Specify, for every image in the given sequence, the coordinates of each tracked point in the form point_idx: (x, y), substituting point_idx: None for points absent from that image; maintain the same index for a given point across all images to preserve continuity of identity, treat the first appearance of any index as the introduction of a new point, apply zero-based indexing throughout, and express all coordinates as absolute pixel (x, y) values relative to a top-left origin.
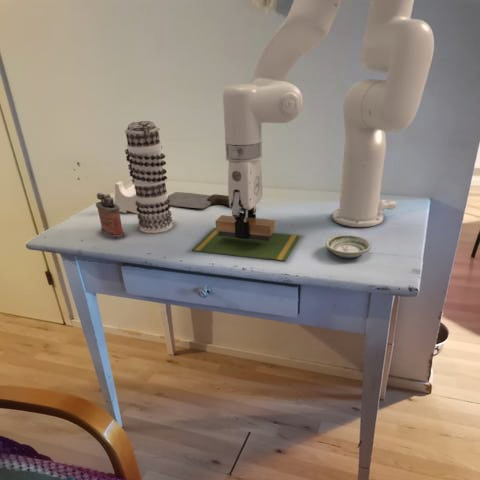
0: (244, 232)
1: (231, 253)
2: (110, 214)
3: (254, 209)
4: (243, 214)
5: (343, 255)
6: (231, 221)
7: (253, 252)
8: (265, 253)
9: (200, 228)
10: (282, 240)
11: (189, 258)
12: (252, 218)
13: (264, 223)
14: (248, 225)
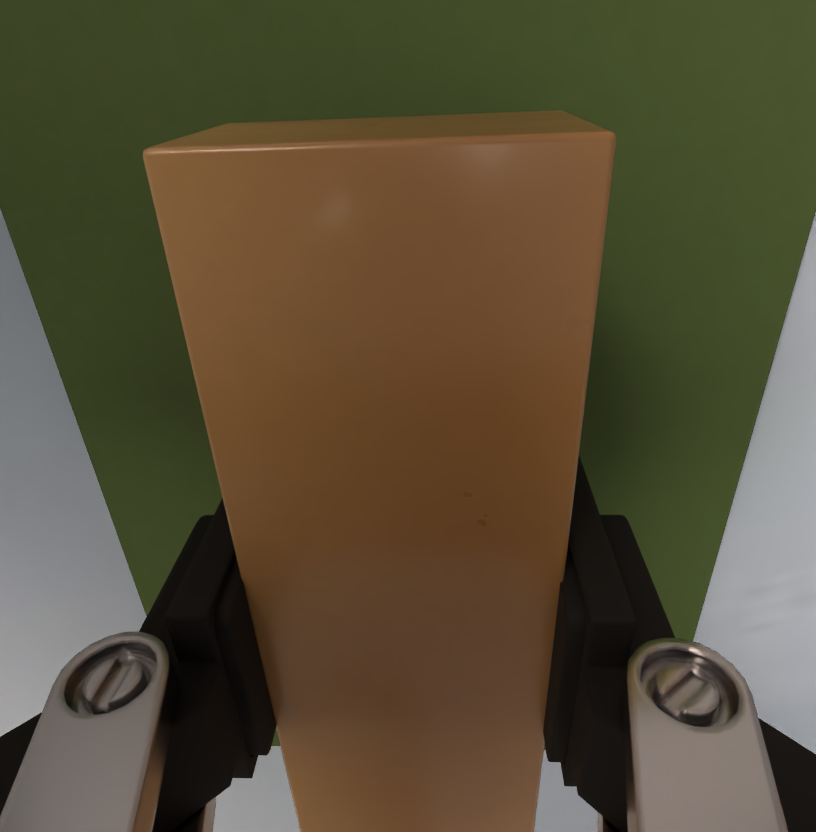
0: (616, 537)
1: (721, 489)
2: None
3: (132, 718)
4: (253, 750)
5: None
6: (503, 784)
7: (676, 284)
8: (697, 115)
9: (236, 800)
10: (177, 4)
11: (796, 719)
12: (276, 598)
13: (463, 333)
14: (616, 570)
